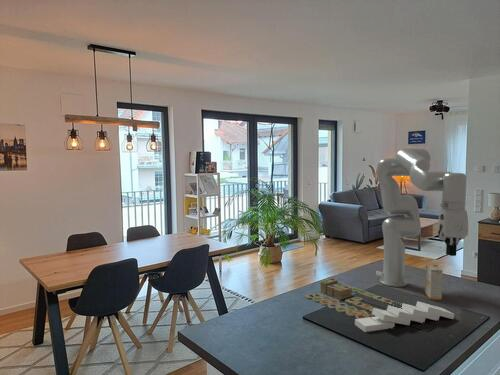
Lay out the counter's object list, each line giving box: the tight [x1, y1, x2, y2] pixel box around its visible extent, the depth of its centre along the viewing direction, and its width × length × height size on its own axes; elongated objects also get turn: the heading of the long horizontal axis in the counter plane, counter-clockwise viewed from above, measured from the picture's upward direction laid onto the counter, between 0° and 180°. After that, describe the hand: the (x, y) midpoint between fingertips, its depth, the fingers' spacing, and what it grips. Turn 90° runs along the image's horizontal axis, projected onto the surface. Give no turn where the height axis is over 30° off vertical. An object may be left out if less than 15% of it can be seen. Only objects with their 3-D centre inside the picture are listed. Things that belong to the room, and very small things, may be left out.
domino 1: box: [354, 317, 396, 333], centre depth 130 cm, size 2×6×12 cm
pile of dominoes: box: [304, 277, 402, 319], centre depth 152 cm, size 35×27×6 cm
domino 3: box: [386, 304, 426, 324], centre depth 133 cm, size 2×6×12 cm
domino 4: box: [401, 302, 441, 322], centre depth 135 cm, size 2×6×12 cm
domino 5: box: [415, 300, 455, 320], centre depth 137 cm, size 2×6×12 cm
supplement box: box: [424, 264, 443, 301], centre depth 159 cm, size 8×5×13 cm, turn 168°
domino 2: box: [371, 307, 412, 326], centre depth 131 cm, size 2×6×12 cm
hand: (450, 254), depth 138 cm, fingers closed
